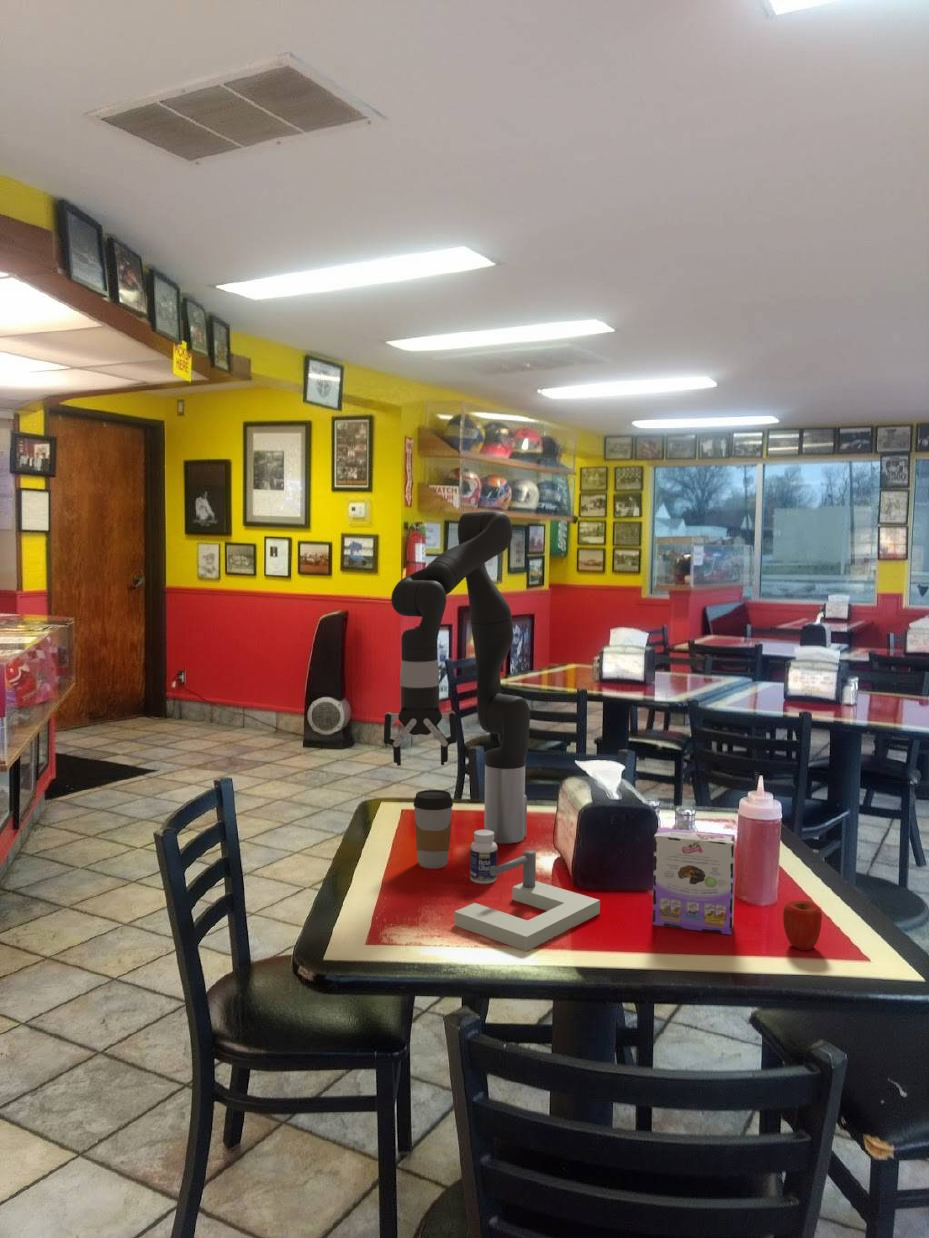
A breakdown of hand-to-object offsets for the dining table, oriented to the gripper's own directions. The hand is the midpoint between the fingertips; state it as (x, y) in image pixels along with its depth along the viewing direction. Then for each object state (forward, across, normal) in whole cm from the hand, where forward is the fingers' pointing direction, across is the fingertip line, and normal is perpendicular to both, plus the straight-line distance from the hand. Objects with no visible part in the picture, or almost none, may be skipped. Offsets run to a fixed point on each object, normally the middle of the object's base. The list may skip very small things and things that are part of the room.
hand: (420, 764), depth 183 cm
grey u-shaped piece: (+24, -20, +18) cm, 36 cm away
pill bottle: (+25, -12, -2) cm, 28 cm away
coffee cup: (+25, -2, -12) cm, 27 cm away
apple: (+25, -64, +29) cm, 75 cm away
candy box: (+25, -49, +20) cm, 58 cm away
